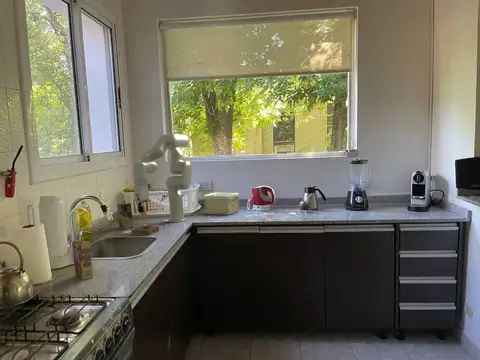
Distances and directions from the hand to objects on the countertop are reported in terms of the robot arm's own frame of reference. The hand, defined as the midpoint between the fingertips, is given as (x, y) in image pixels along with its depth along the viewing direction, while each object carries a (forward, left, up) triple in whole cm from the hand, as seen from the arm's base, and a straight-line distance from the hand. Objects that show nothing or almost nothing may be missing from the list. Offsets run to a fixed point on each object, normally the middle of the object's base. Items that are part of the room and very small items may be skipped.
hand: (143, 211), depth 230 cm
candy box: (+73, +16, -14) cm, 76 cm away
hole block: (0, 0, -14) cm, 14 cm away
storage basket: (-63, +28, -14) cm, 71 cm away
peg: (0, 0, -4) cm, 4 cm away
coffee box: (-13, -23, -14) cm, 30 cm away
